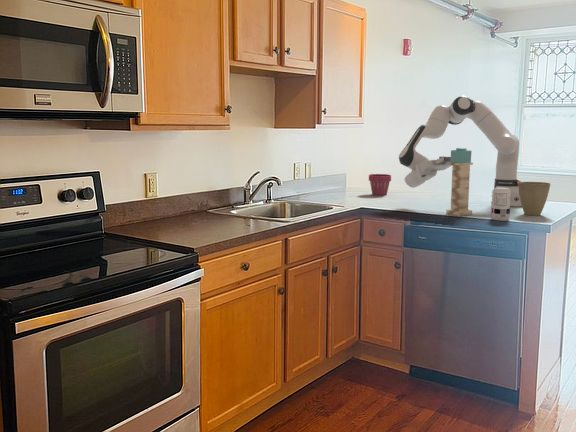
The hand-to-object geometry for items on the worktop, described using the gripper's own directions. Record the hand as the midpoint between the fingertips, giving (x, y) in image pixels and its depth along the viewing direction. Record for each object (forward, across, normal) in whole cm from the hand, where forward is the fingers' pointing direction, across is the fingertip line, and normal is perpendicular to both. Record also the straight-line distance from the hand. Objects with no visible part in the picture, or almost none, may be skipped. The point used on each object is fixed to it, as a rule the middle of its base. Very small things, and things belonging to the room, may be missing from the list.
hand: (446, 158), depth 298 cm
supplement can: (+13, -3, -40) cm, 42 cm away
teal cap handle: (+3, 0, -4) cm, 5 cm away
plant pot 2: (+13, -28, -40) cm, 51 cm away
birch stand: (-6, 0, -28) cm, 29 cm away
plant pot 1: (-76, -22, +11) cm, 80 cm away
